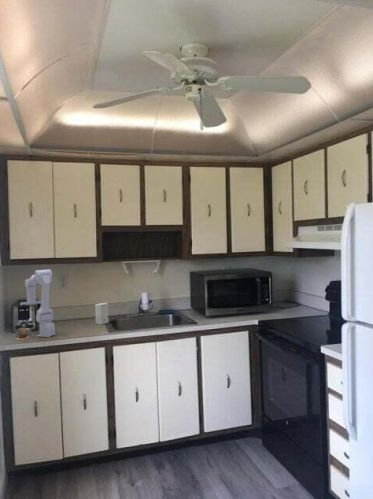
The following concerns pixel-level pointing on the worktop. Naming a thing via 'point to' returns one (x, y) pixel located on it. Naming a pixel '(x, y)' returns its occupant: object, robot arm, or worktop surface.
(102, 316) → the skincare box
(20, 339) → the coaster
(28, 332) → the low wall
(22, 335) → the walnut cylinder
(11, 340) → the worktop surface
